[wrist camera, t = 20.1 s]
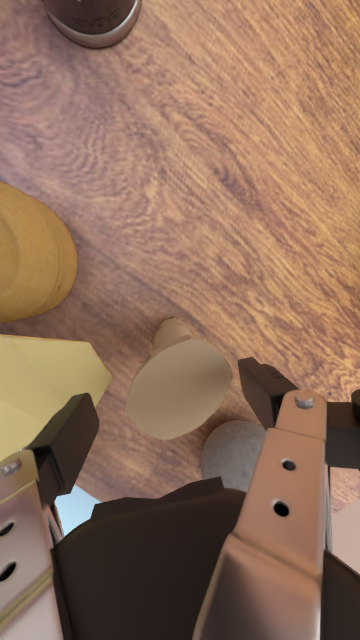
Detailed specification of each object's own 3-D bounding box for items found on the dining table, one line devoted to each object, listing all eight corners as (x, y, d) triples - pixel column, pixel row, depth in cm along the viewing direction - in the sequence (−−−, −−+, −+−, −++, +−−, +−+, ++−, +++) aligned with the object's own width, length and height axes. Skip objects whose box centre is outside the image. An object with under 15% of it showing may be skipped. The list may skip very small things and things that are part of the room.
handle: (204, 323, 27) (248, 378, 12) (169, 359, 27) (171, 453, 13) (175, 296, 26) (187, 321, 11) (140, 334, 27) (107, 405, 12)
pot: (8, 180, 23) (-114, 105, 13) (108, 244, 24) (68, 222, 15) (-36, 276, 24) (-175, 275, 14) (60, 329, 26) (-5, 361, 16)
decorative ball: (261, 397, 29) (308, 457, 19) (269, 457, 31) (316, 540, 21) (189, 412, 29) (200, 481, 19) (202, 472, 31) (218, 562, 21)
